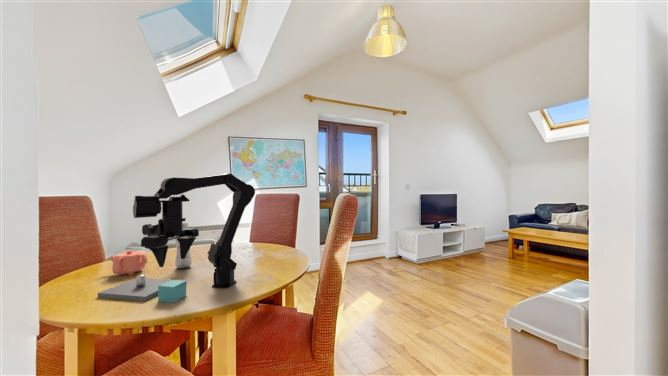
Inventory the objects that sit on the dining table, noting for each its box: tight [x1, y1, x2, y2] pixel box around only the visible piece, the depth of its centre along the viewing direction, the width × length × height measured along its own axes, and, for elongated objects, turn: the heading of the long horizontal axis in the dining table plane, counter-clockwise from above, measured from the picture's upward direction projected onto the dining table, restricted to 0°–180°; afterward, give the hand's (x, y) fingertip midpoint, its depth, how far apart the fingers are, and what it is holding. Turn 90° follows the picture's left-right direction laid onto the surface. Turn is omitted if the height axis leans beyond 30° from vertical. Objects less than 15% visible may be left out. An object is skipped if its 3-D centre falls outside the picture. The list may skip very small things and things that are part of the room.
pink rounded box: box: [109, 249, 148, 277], centre depth 112 cm, size 12×12×10 cm
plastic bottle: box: [174, 222, 192, 269], centre depth 120 cm, size 6×7×20 cm
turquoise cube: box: [157, 279, 187, 303], centre depth 87 cm, size 6×6×5 cm
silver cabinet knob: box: [135, 274, 147, 288], centre depth 94 cm, size 3×3×4 cm
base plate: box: [97, 277, 171, 302], centre depth 94 cm, size 18×15×2 cm
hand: (172, 262), depth 88 cm, fingers open, 9 cm apart
